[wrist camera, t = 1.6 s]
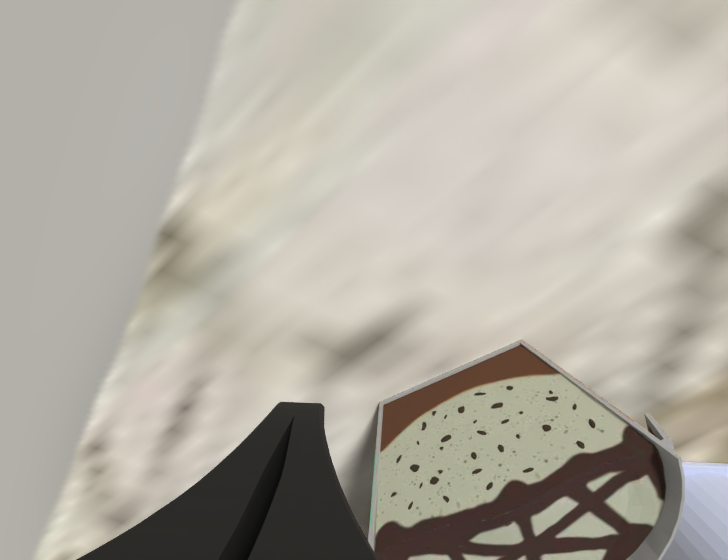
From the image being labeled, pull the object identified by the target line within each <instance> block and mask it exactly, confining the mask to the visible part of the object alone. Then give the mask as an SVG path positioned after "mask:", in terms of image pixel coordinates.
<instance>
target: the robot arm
mask: <svg viewBox="0 0 728 560" xmlns="http://www.w3.org/2000/svg"><path fill="white" fill-rule="evenodd" d="M682 467H683V471H684V476H685V501H684V506H683V511H682V517H681V521H680V523H679V526H678V528H677V531H676V534H675V536H674V539H673V541H672V542H671V544H670V546H669V547H668V549H667V551H666V553H665V554H664V556H663V558H662V559H661V560H728V464H724V463H701V462H682ZM77 560H379V559H378V557H377V556H376V554H375V552H374V551H373V549H372V547H371V546H370V544H369V542H368V540H367V539H366V537H365V535H364V533H363V531H362V530H361V528H360V526H359V524H358V523H357V521H356V519H355V517H354V515H353V513H352V511H351V508H350V506H349V504H348V502H347V500H346V498H345V495H344V493H343V491H342V488H341V486H340V483H339V480H338V478H337V475H336V472H335V469H334V466H333V463H332V460H331V456H330V453H329V449H328V445H327V441H326V436H325V430H324V406H323V405H322V404H320V403H295V402H280V403H279V404H277V405H276V406H275V408H274V409H273V410H272V411H271V412H270V413H269V414H268V415H267V416H266V418H265V419H264V420H263V421H262V422H261V423H260V424H259V425H258V426H257V427H256V428H255V429H254V431H253V432H252V433H251V434H250V435H249V436H248V437H247V438H246V439H245V440H244V441H243V442H242V443H241V444H240V445H239V446H238V447H237V448H236V449H235V450H234V451H232V452H231V453H230V454H229V455H228V456H227V457H226V458H225V459H224V460H223V461H222V462H220V463H219V464H218V465H217V466H216V467H215V468H214V469H213V470H212V471H210V472H209V473H208V474H207V475H206V476H204V477H203V478H202V479H201V480H200V481H198V482H197V483H196V484H195V485H193V486H192V487H191V488H189V489H188V490H187V491H186V492H184V493H183V494H182V495H180V496H179V497H178V498H176V499H175V500H173V501H172V502H170V503H169V504H167V505H166V506H164V507H163V508H161V509H160V510H158V511H157V512H155V513H154V514H152V515H151V516H149V517H148V518H147V519H145V520H144V521H142V522H141V523H139V524H137V525H136V526H134V527H133V528H131V529H129V530H128V531H126V532H124V533H123V534H121V535H119V536H118V537H116V538H114V539H113V540H111V541H109V542H107V543H106V544H104V545H102V546H100V547H99V548H97V549H95V550H93V551H92V552H90V553H88V554H86V555H84V556H82V557H81V558H79V559H77Z"/></svg>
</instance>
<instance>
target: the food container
mask: <svg viewBox="0 0 728 560" xmlns="http://www.w3.org/2000/svg"><path fill="white" fill-rule="evenodd" d="M645 418H646V423H647V427H648V431H649V432H648V431H647V430H646V429H644V428H643V427H642V426H640V425H639V424H637V423H636V422H635V421H633V420H632V419H631V418H629V417H628V416H626V415H625V414H624V413H622V412H621V411H619V410H618V409H617V408H615V407H614V406H613V405H611V404H610V403H608V402H607V401H606V400H604V399H603V398H602V397H600V396H599V395H597V394H596V393H595V392H593V391H592V390H591V389H589V388H588V387H586V386H585V385H584V384H582V383H581V382H580V381H578V380H577V379H575V378H574V377H573V376H571V375H570V374H569V373H567V372H566V371H564V370H563V369H562V368H560V367H559V366H558V365H556V364H555V363H553V362H552V361H551V360H549V359H548V358H547V357H545V356H544V355H542V354H541V353H540V352H538V351H537V350H536V349H534V348H533V347H531V346H530V345H529V344H527V343H526V342H525V341H523V340H519V341H517V342H515V343H513V344H510V345H508V346H506V347H503V348H501V349H499V350H497V351H494V352H492V353H490V354H488V355H485V356H483V357H481V358H479V359H476V360H474V361H472V362H469V363H467V364H465V365H463V366H460V367H458V368H456V369H454V370H451V371H449V372H447V373H445V374H442V375H440V376H438V377H435V378H433V379H431V380H429V381H426V382H424V383H422V384H420V385H417V386H415V387H413V388H411V389H408V390H406V391H404V392H401V393H399V394H397V395H395V396H392V397H390V398H388V399H386V400H383V401H381V402H379V412H378V424H377V437H376V449H375V461H374V473H373V485H372V498H371V510H370V522H369V534H368V539H367V538H366V539H367V540H368V542H369V544H370V546H371V547H372V549H373V551H374V552H375V554H376V556H377V557H378V559H379V560H661V559H662V558H663V556H664V554H665V553H666V551H667V549H668V547H669V546H670V544H671V542H672V541H673V539H674V536H675V534H676V531H677V528H678V526H679V523H680V521H681V517H682V511H683V506H684V501H685V476H684V471H683V467H682V462H681V458H680V457H679V456H678V455H677V454H676V453H675V451H674V447H673V442H672V440H671V439H670V438H669V436H668V435H667V434H666V433H665V431H664V430H663V429H662V428H661V427H660V425H659V424H658V423H657V422H656V420H655V419H654V418H653V417H652V416H651V414H650V413H645Z"/></svg>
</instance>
